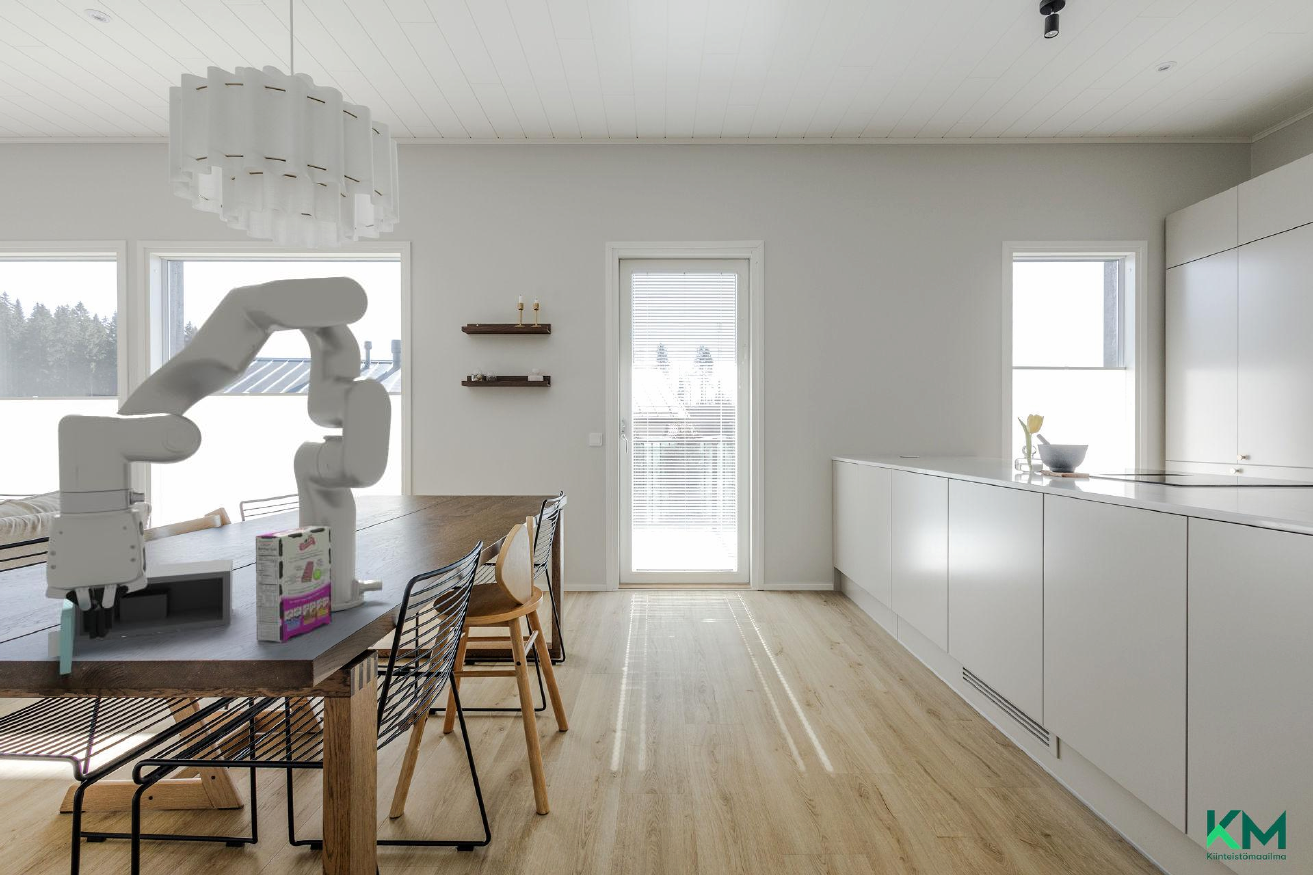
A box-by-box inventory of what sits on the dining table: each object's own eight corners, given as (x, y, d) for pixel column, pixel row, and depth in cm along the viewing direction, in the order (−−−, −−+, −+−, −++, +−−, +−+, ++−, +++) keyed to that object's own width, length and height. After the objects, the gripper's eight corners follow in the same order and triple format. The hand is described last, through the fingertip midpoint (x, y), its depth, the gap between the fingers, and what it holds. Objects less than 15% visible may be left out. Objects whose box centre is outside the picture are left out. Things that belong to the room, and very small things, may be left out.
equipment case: (232, 608, 118) (232, 559, 118) (229, 624, 108) (230, 570, 108) (88, 624, 108) (88, 569, 108) (70, 643, 97) (71, 583, 97)
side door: (71, 672, 83) (72, 617, 83) (47, 676, 81) (47, 620, 81) (74, 637, 97) (75, 590, 97) (53, 640, 96) (54, 592, 96)
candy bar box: (306, 621, 110) (307, 525, 110) (332, 623, 109) (333, 526, 109) (253, 641, 99) (253, 534, 99) (281, 644, 98) (282, 535, 98)
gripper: (167, 497, 96) (170, 620, 96) (31, 504, 88) (34, 637, 89) (160, 502, 90) (163, 633, 90) (13, 510, 82) (16, 653, 82)
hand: (99, 635), depth 89 cm, fingers closed
